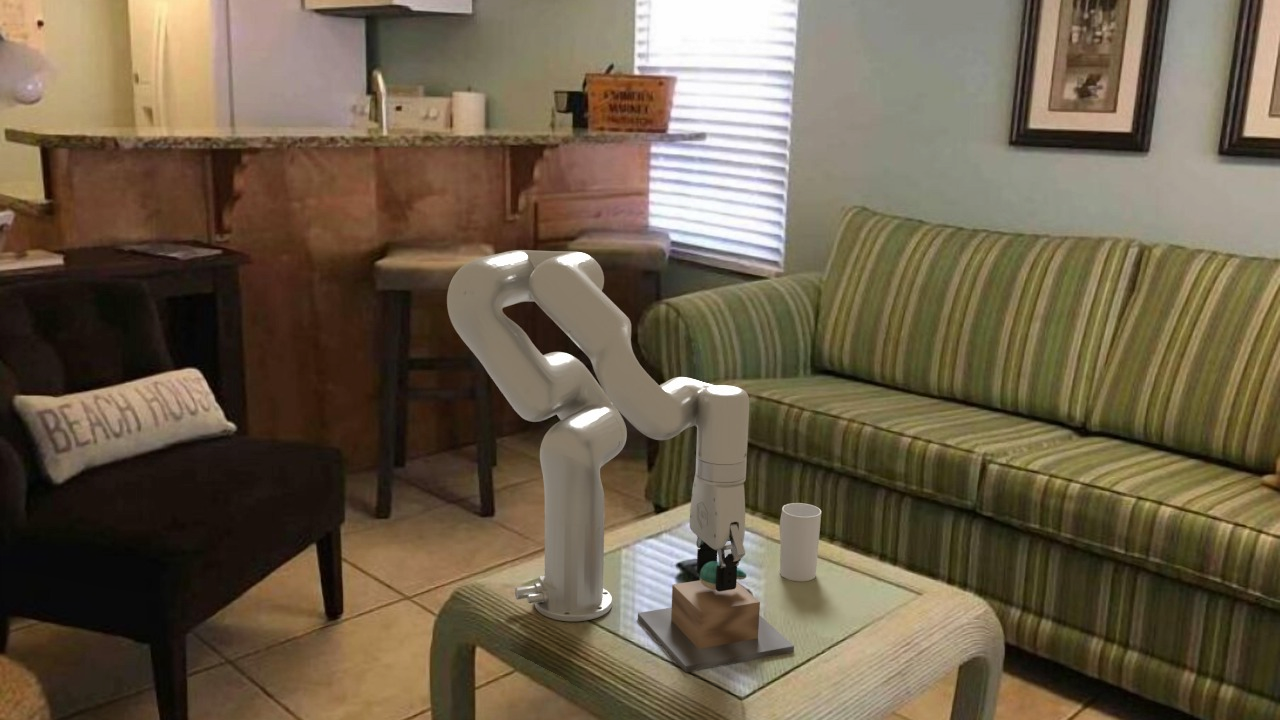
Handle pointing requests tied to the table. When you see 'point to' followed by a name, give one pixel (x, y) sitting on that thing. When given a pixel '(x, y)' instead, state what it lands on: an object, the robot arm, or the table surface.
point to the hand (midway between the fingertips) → (716, 579)
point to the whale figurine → (714, 574)
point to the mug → (799, 541)
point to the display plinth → (712, 653)
